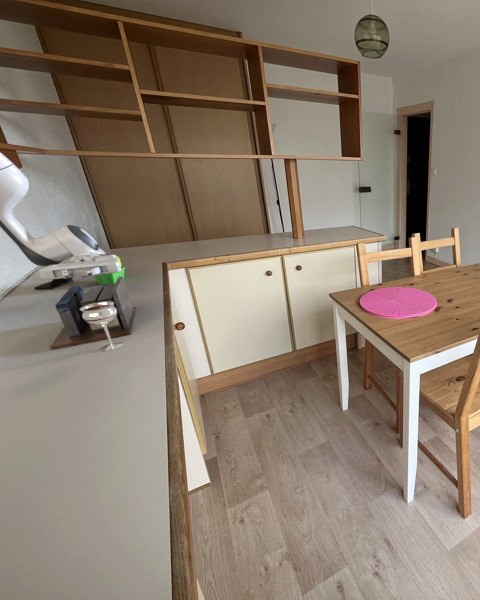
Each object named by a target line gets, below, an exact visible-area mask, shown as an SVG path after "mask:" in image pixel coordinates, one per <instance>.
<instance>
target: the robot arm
mask: <svg viewBox="0 0 480 600" xmlns="http://www.w3.org/2000/svg"><path fill="white" fill-rule="evenodd" d="M29 190H30V181H29V179H28V177H27V176H26V175H25V173H23V172H22V170H21V169H20V168H19V167H18V166H16V165H15V164H14V162H12V160H10V159H9V158H8V157H7V156H6V155H4V154H3V153H2V152H1V151H0V229H1V230H3V232H4V233H5V234H6V235H7V236H8V237H9V238H10V239H11V240H12V241H13V243H15V245H16V246H17V247H18V248H19V250H20V251H21V253H22V254H23V255H25V257H26V259H28V260H29V261H30V262H31V263H32V264H33V265H35V266H39V267H41V268H38V270H37V272H38V275H39V277H40V279H41V280H43V281H50V280H53V279H60V278H64V279H66V278H70V277H73V278H78V277H79V278H82V279H90V278H91V279H93V278H94V277H96V276H99V275H102V274H107V273H117V272H121V271H122V269H121V267H122V265H121V266H120V263H119V260H118V258H116V256H117V255H116V254H113V253H111V254H110V253H106V252H105V250H103V249H102V248H101V247H100V244H99V242H98V240H97V239H96V238H95V237H94V236H93V235H92V234H91V233H90V232H89V231H88V230H86V229H85V228H83V227H80V226H77V225H73V224H67V225H64V226H62V227H59V228H57V229H54V230H53V231H51V232H48V233H46V234H44V235H42V236H40V237H33V236H32V235H31V234H30V233H29V232H28V231H27V229H25V227H24V226H23V225H22V223H20V222H19V220H18V219H17V218H16V216H15V215H14V210H15V208H16V206H17V205H18V204H19V203H20V202H21V201H22V200H23V199H24V198H25V196H27V194H28V192H29ZM115 255H116V256H115ZM68 259H69V261H68V262H67V263H62V262H64V261H66V260H68Z"/></svg>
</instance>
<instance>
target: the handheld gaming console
mask: <svg viewBox="0 0 480 600" xmlns="http://www.w3.org/2000/svg"><path fill="white" fill-rule="evenodd" d="M72 282H74V277H70V278H66V279H64V278H60V279H51V281H48V282H45V283H42V284H39V285H36V286H33V288H34V290H53V289H56V288H58V287H60V286H63V285H66V284H69V283H72Z"/></svg>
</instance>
